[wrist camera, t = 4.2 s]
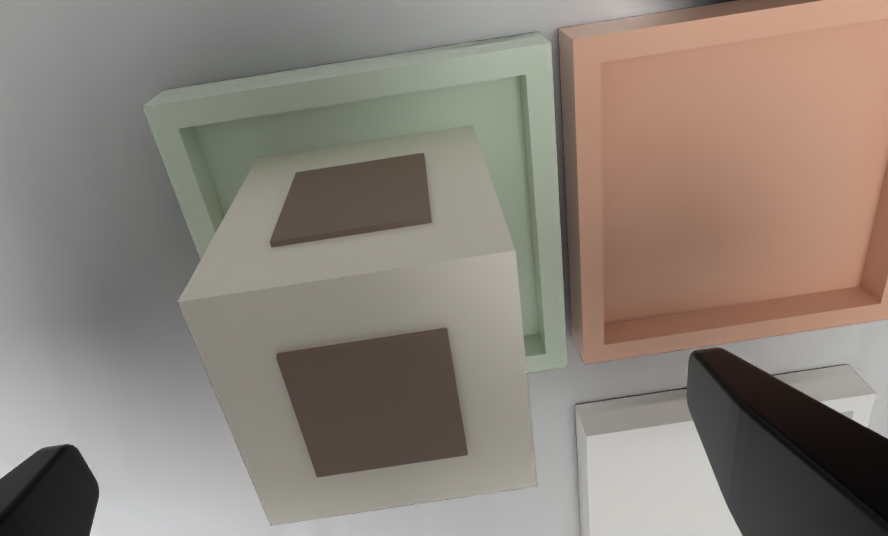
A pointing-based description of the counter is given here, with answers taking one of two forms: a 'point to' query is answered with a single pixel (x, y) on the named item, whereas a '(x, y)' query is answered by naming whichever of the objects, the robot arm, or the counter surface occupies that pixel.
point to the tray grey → (674, 459)
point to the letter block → (367, 328)
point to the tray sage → (384, 116)
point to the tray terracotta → (725, 173)
